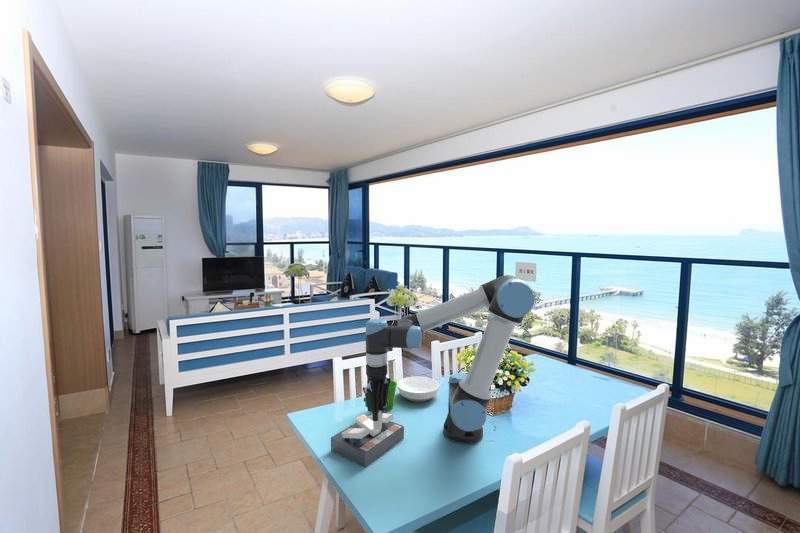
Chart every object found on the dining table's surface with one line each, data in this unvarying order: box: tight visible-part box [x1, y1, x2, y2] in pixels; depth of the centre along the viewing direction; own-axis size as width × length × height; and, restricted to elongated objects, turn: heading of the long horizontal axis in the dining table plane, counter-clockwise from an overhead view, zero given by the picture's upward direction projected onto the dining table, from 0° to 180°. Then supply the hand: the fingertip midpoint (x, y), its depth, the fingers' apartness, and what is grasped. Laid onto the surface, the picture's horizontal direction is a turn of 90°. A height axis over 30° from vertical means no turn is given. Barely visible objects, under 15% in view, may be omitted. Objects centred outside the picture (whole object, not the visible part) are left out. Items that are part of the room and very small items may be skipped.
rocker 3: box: [367, 412, 394, 423], centre depth 147 cm, size 9×4×2 cm, turn 54°
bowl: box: [396, 375, 440, 403], centre depth 183 cm, size 20×20×6 cm
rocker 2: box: [355, 413, 381, 437], centre depth 141 cm, size 9×4×2 cm, turn 55°
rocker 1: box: [342, 428, 369, 439], centre depth 136 cm, size 9×4×2 cm, turn 54°
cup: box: [384, 379, 398, 411], centre depth 171 cm, size 9×9×11 cm
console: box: [330, 413, 405, 468], centre depth 142 cm, size 16×22×6 cm
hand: (377, 428), depth 139 cm, fingers closed
